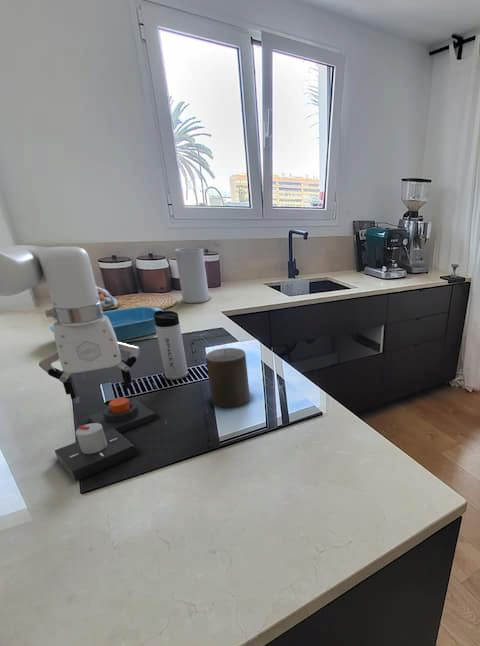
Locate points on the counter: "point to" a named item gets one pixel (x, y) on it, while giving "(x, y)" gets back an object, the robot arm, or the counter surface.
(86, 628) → the counter surface
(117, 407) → the button
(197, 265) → the cylinder vase
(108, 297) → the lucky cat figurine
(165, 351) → the travel mug
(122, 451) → the panel
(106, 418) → the block
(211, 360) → the pillar candle
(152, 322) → the casserole dish
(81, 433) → the timer dial
